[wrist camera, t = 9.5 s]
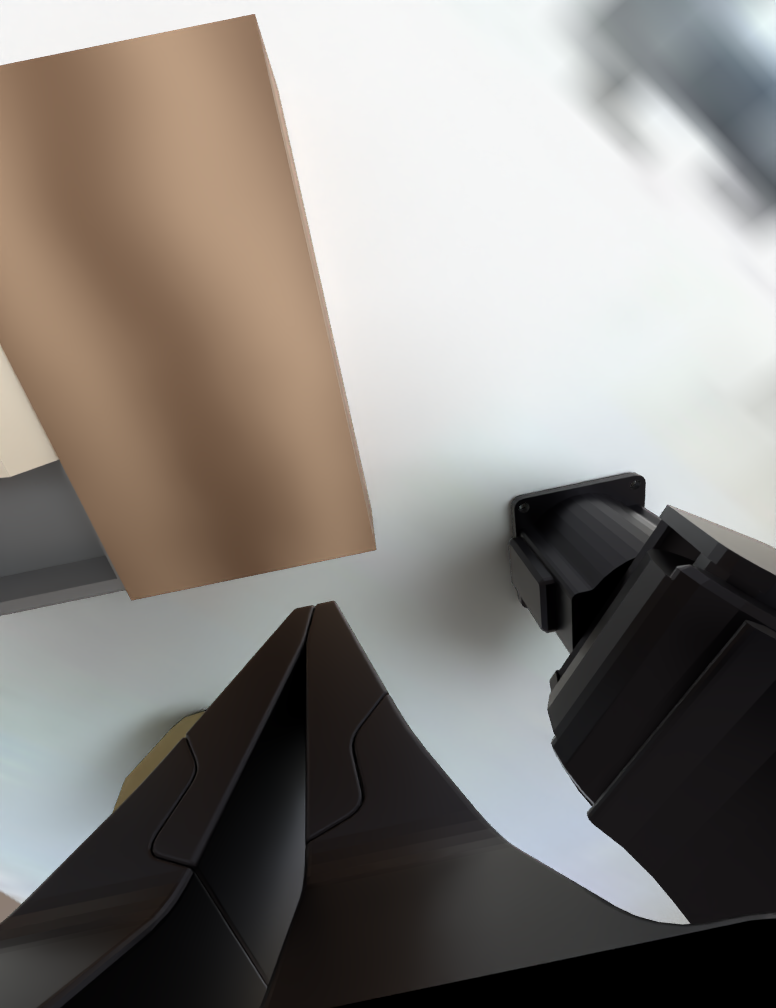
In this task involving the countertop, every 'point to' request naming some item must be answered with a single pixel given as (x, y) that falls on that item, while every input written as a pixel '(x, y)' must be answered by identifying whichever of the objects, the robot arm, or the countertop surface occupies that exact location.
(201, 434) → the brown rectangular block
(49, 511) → the charcoal bin
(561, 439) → the countertop surface
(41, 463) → the cream block
